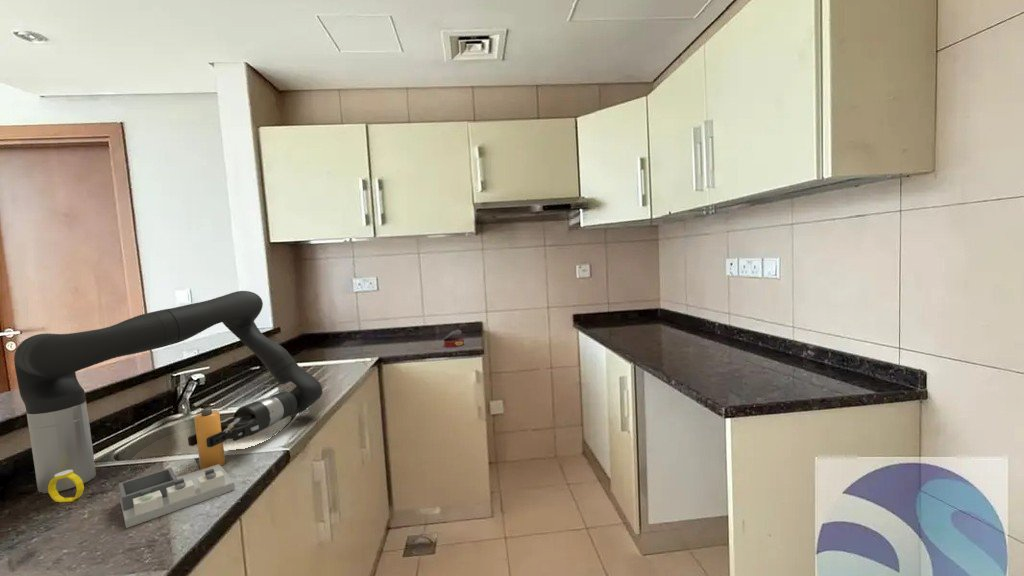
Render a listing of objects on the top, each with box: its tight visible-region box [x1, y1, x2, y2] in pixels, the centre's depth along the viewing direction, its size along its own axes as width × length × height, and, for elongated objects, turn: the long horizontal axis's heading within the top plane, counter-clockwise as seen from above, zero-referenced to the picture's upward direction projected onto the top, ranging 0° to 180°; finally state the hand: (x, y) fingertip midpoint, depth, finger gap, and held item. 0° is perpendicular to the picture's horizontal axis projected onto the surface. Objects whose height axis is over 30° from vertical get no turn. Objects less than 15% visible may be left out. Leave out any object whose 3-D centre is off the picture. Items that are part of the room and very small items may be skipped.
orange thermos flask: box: [193, 407, 226, 470], centre depth 104 cm, size 5×5×13 cm
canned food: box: [443, 329, 465, 348], centre depth 229 cm, size 11×10×10 cm
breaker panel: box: [118, 464, 236, 529], centre depth 91 cm, size 13×17×4 cm
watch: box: [48, 470, 85, 503], centre depth 92 cm, size 6×3×6 cm, turn 91°
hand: (199, 442), depth 102 cm, fingers closed on orange thermos flask, 4 cm apart
